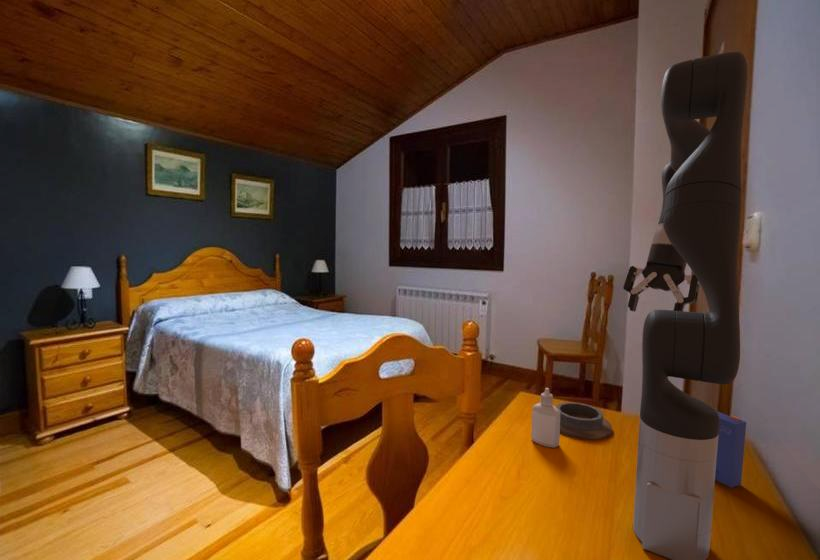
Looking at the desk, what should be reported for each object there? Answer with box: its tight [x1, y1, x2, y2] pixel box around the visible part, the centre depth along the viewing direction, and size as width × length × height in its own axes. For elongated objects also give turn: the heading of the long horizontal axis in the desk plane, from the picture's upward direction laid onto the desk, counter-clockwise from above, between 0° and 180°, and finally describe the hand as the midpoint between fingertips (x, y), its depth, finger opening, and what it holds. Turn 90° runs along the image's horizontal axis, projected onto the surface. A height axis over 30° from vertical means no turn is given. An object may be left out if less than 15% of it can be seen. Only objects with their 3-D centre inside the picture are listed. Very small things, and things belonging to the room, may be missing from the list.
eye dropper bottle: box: [530, 387, 561, 449], centre depth 85 cm, size 4×6×12 cm
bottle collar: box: [555, 401, 613, 441], centre depth 93 cm, size 14×14×4 cm
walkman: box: [715, 410, 747, 489], centre depth 73 cm, size 8×3×12 cm, turn 20°
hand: (652, 315), depth 90 cm, fingers open, 8 cm apart
